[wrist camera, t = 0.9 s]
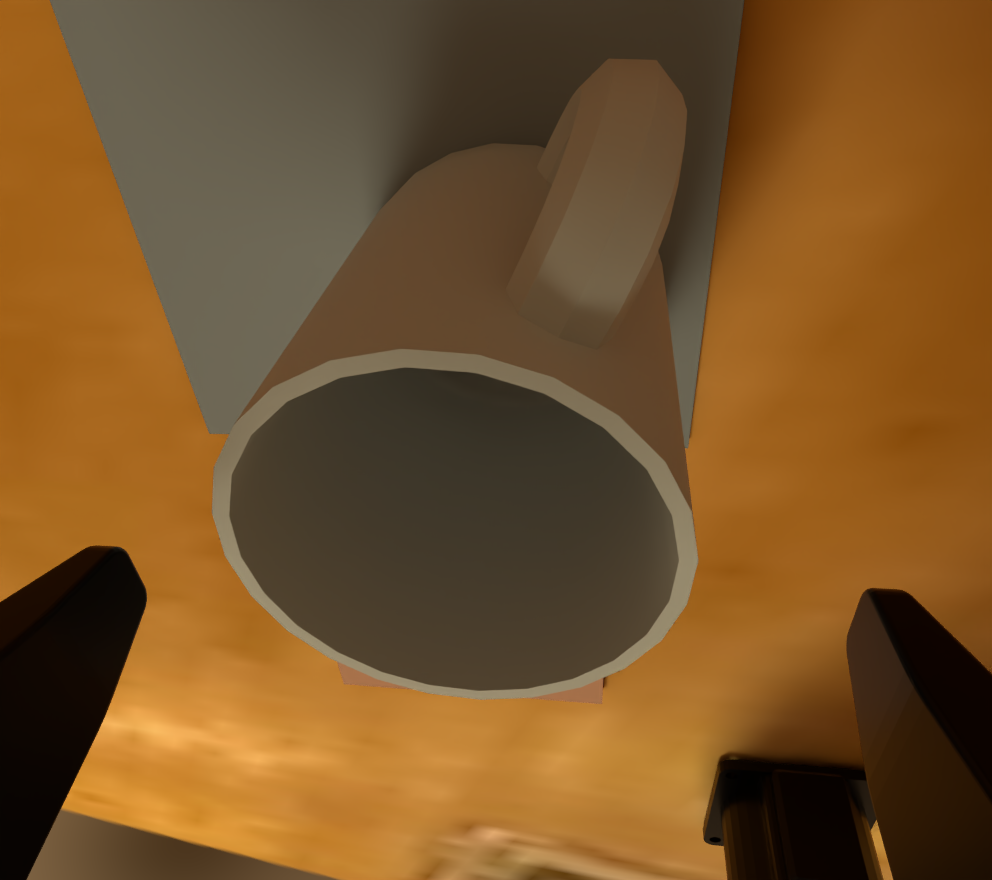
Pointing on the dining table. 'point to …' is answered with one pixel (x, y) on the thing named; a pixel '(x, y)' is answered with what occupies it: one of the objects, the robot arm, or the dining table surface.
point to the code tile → (359, 141)
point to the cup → (485, 419)
